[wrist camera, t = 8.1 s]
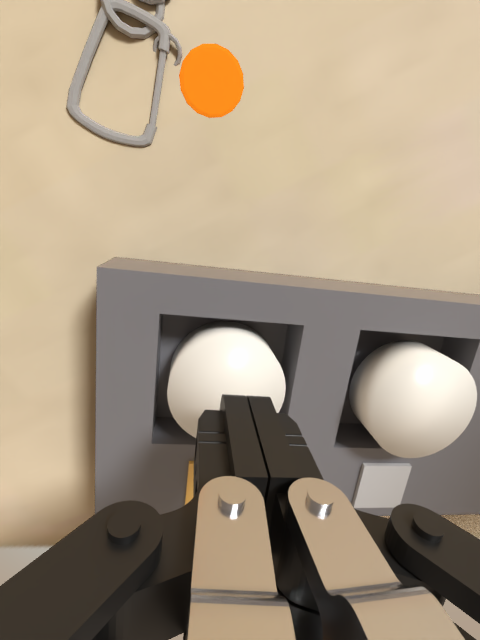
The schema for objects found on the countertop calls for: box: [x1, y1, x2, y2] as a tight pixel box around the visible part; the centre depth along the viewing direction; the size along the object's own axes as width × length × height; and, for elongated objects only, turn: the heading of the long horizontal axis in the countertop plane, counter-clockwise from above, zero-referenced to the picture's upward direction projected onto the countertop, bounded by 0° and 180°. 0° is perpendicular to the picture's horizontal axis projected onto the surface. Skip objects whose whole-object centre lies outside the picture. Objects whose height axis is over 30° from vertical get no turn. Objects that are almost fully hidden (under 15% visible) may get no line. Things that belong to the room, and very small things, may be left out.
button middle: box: [349, 340, 477, 458], centre depth 15 cm, size 5×5×2 cm
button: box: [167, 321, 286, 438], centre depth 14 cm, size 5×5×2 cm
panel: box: [95, 257, 480, 516], centre depth 17 cm, size 26×11×3 cm, turn 83°
